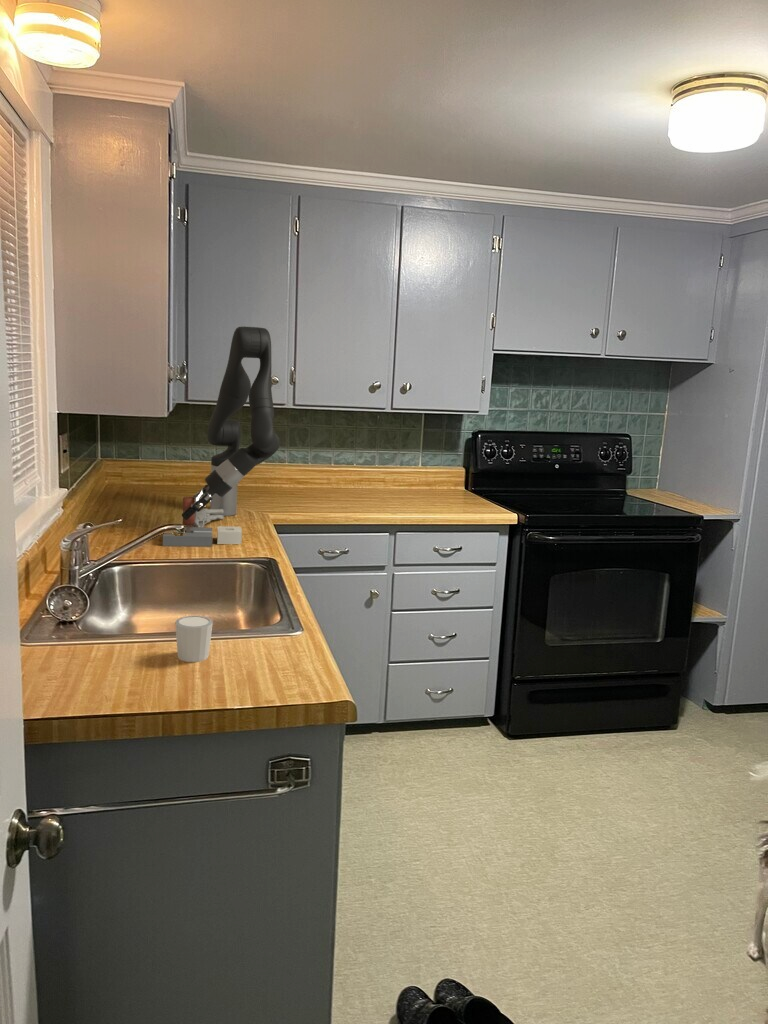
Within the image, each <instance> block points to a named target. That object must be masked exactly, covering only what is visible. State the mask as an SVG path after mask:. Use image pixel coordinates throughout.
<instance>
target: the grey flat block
mask: <svg viewBox="0 0 768 1024" xmlns="http://www.w3.org/2000/svg"><path fill="white" fill-rule="evenodd" d="M184 527H185V533H184V535H183V536H175V535H174V534H172V533H165V534H162V546H163V547H193V548H194V547H199V548H200V547H203V548H204V547H205V548H211V546H212V547H213V541H214V540H213V539H214V538H213V533H214V532H213V527H205V526H204V527H193V526H191V533H186V526H184ZM209 546H210V547H209Z"/></svg>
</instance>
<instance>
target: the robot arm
mask: <svg viewBox="0 0 768 1024" xmlns="http://www.w3.org/2000/svg"><path fill="white" fill-rule="evenodd" d="M245 358H246V359H247V358H248V359H249V358H250V359H259V369H258V372H257V374H256V376H255V379H254V381H252V382H253V383H251V379H250V377H249V375H248V373H247V372H246V370H245V368H244V366H243V364H242V360H243V359H245ZM226 365H227V366H226V367H225V368H226V369H225V372H224V375H223V379H222V380H221V383H220V384H221V385H220V389H219V393H218V397H217V402H216V404H215V407H214V410H213V412H212V415H211V417H210V420H209V423H208V426H207V431H206V438H207V441H208V443H209V444H210V445H212V446H216V447H217V446H218V447H219V446H220V447H224V446H225V447H226V446H227V448H226V449H225V450H223V452H221V453H218V454H215V455H213V456H212V457H211V461H210V473H209V474H208V475H207V476H206V477H205V478H204V481H205V483H206V484H205V485H204V486H203V487H202V488H201V489H200V490H199V491H197V492H196V493H195V494H194V495H193V497H194V498H195V499H194V503H193V504H191V506H190V507H189V508H188V509H187V510H186V511H185V512H183V511H182V513H181V517H182V519H183V518H184V519H185V520H188V519H189V518H190V517H191V516H192V515H193V514H194V513H195V512H199V511H201V510H202V509H204V507H206V505H207V504H209V509H223V511H224V513H223V514H212V515H224V516H223V517H229V516H230V517H231V516H235V515H237V507H238V484H239V483H240V482H241V481H242V479H243V478H244V477H246V475H248V473H250V472H251V471H252V470H253V468H254V469H255V467H256V466H258V465H260V464H262V463H263V462H264V461H266V460H268V459H269V458H271V457H273V455H275V454H276V453H277V451H278V450H279V448H280V445H281V439H280V437H279V435H277V433H276V432H275V430H274V423H273V420H274V418H275V407H274V401H273V393H272V339H271V335H270V331H268V329H267V328H265V327H258V326H257V327H256V326H238V327H235V330H234V332H233V335H232V338H231V344H230V350H229V355H228V361H227V364H226ZM247 401H248V403H249V412H250V417H251V419H250V439H251V442H252V443H251V444H249V446H247V447H241V448H240V445H241V433H242V430H241V429H242V428H241V424H240V422H239V420H237V419H232V418H231V419H229V418H230V417H231V416H232V415H234V414H235V413H236V412H238V411H239V410H241V409H242V408H243V407H244V406H245V404H247Z"/></svg>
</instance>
